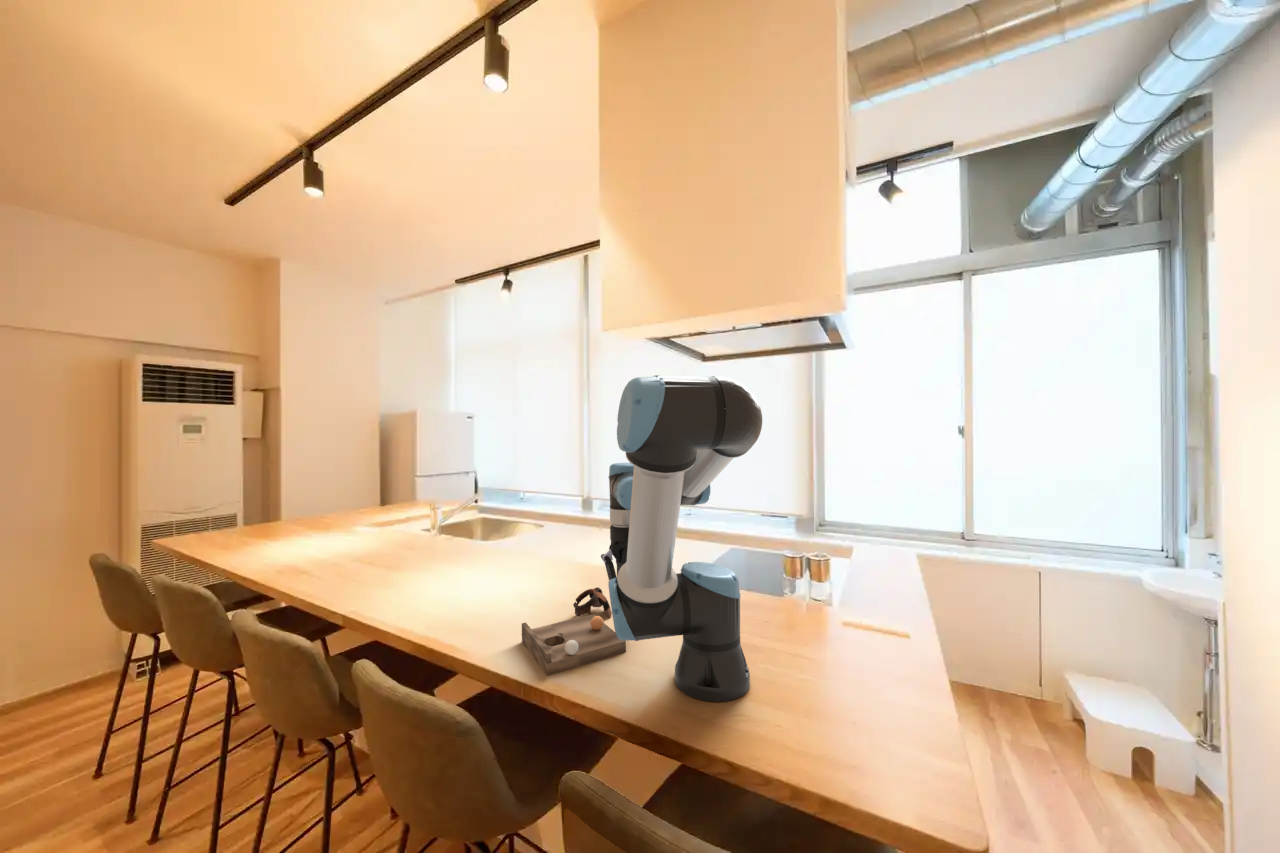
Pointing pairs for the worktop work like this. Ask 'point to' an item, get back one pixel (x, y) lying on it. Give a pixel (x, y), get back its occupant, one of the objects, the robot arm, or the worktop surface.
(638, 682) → the worktop surface
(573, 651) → the cream ball
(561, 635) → the deck
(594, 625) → the ball
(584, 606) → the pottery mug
